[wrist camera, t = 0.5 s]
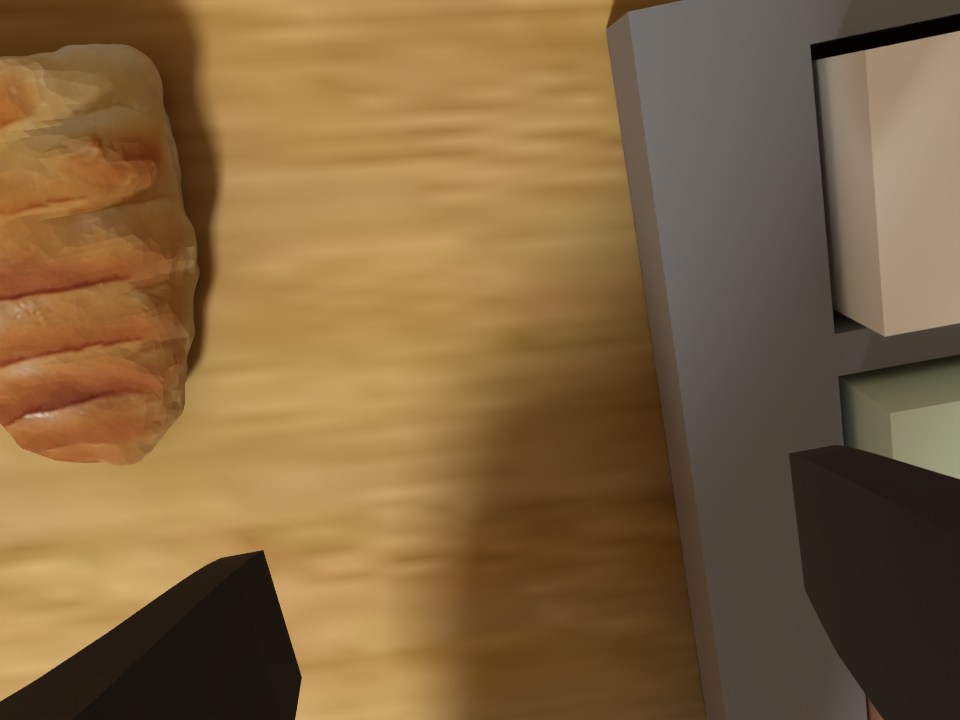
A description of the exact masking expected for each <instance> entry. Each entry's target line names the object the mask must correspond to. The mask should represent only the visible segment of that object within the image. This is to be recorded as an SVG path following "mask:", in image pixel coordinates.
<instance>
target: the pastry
mask: <svg viewBox="0 0 960 720" xmlns="http://www.w3.org/2000/svg"><path fill="white" fill-rule="evenodd" d="M196 259H197V241H196V236H195V231H194V228H193V225H192V223H191V222H190V220H189V219H188V217H187V215H186V214H185V209H184V202H183V195H182V187H181V168H180V164H179V160H178V152H177V148H176V144H175V140H174V137H173V135H172V132H171V127H170V121H169V118H168V115H167V112H166V110H165V108H164V101H163V86H162V80H161V78H160V75H159V72H158V70H157V69H156V67H155V65H154V63H153V62H152V61H151V59H150V58H149V57H148V56H146V55H145V54H144V53H142V52H140V51H139V50H137V49H135V48H134V47H132V46H129V45H126V44H88V45H69V46H64V47H62V48H60V49H58V50H56V51H54V52H47V53H38V54H34V55H29V56H1V57H0V424H2V425H3V427H4V428H5V429H6V430H7V431H8V432H9V433H10V435H11V436H12V437H13V438H14V439H15V440H16V442H17V444H18V445H19V446H20V447H21V448H23V449H26V450H29V451H31V452H34V453H36V454H39V455H42V456H45V457H47V458H50V459H53V460H57V461H67V462H79V463H95V462H106V463H109V464H111V465H119V466H123V465H129V464H134V463H136V462H138V461H140V460H141V459H143V458H144V457H145V456H146V455H147V454H148V453H150V452H151V450H152V449H153V448H154V447H155V446H156V444H157V443H158V442H159V440H160V439H161V438H162V437H163V435H164V434H165V433H166V431H167V430H168V429H169V428H170V427H171V426H172V425H173V424H174V423H175V421H176V420H177V419H178V418H179V416H180V415H181V414H182V412H183V409H184V405H185V381H186V377H187V373H188V366H187V356H188V353H189V350H190V347H191V344H192V341H193V339H194V336H195V327H194V306H193V298H194V293H195V288H196V285H197V281H198V278H199V274H200V270H199V266H198V263H197V261H196Z"/></svg>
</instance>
